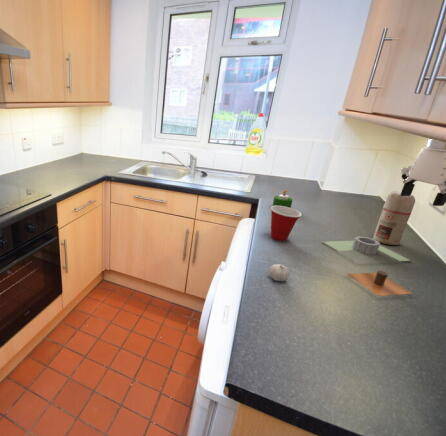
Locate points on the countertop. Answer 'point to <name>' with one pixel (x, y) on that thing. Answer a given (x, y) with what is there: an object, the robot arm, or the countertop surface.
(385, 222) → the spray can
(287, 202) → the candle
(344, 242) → the mat
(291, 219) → the plastic cup
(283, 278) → the garlic
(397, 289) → the stand
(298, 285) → the countertop surface
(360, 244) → the tape roll
